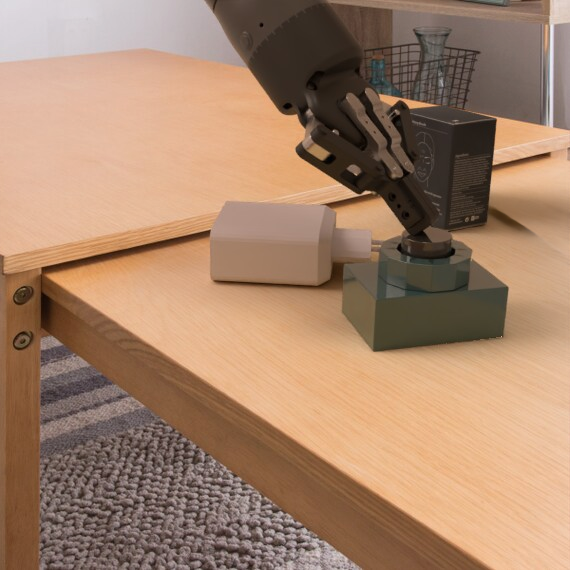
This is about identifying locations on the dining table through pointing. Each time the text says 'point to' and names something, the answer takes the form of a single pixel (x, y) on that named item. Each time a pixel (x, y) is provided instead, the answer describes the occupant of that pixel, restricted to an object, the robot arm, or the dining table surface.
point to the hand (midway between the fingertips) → (426, 226)
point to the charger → (283, 243)
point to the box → (455, 163)
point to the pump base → (422, 299)
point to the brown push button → (427, 244)
